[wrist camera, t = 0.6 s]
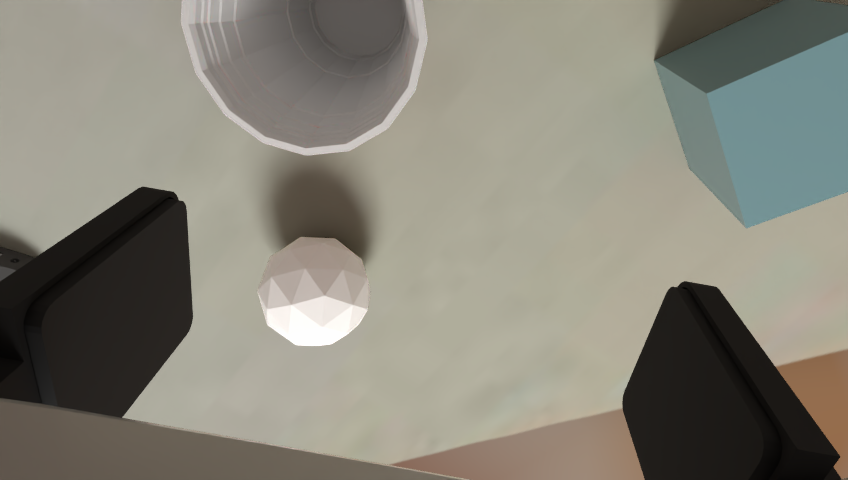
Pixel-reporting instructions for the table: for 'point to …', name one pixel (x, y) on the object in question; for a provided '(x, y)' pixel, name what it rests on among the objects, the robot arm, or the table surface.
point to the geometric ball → (314, 291)
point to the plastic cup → (308, 66)
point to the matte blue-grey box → (765, 108)
